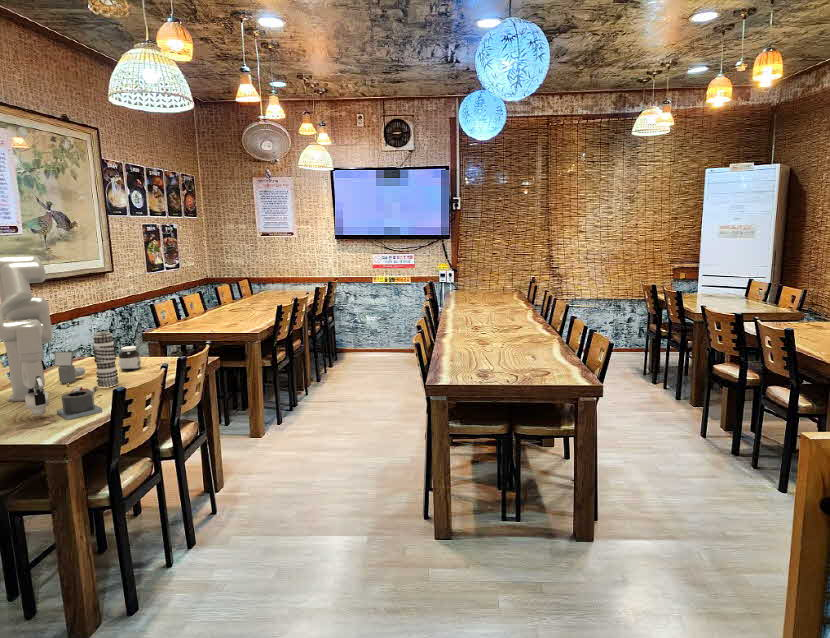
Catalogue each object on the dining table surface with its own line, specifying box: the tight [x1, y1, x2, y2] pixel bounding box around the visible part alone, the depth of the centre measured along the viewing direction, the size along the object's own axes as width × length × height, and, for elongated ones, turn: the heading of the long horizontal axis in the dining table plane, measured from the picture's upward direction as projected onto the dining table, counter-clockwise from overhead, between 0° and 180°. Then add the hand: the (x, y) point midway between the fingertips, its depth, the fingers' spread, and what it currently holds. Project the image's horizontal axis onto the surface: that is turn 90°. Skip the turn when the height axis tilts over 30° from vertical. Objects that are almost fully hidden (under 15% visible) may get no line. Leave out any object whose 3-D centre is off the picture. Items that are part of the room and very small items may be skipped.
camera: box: [53, 351, 86, 385], centre depth 261 cm, size 9×12×15 cm
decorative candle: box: [92, 330, 120, 388], centre depth 250 cm, size 9×9×25 cm
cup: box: [25, 390, 50, 416], centre depth 209 cm, size 7×7×8 cm
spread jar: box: [117, 345, 142, 372], centre depth 282 cm, size 12×11×12 cm
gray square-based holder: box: [56, 389, 103, 421], centre depth 214 cm, size 12×12×8 cm
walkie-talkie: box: [70, 385, 98, 395], centre depth 237 cm, size 9×4×20 cm
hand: (37, 402), depth 209 cm, fingers closed on cup, 7 cm apart
